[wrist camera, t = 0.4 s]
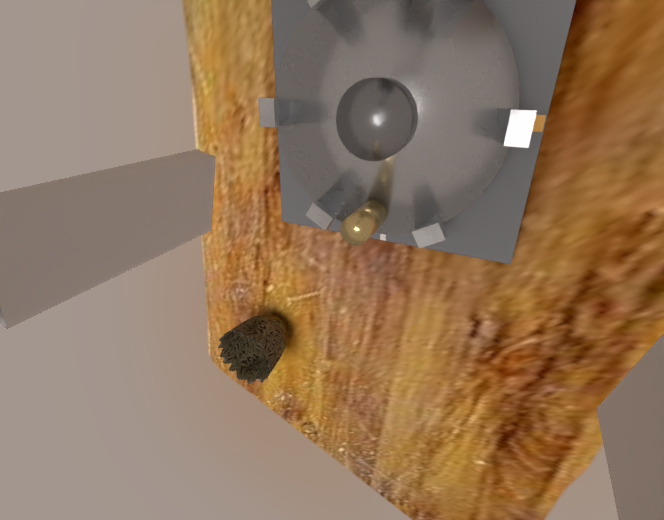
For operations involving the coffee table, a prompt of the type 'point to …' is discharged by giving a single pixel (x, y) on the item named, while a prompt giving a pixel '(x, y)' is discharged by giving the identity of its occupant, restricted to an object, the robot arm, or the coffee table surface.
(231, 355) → the cup
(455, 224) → the plate
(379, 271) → the coffee table surface
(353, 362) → the coffee table surface
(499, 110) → the grey metal round disc
